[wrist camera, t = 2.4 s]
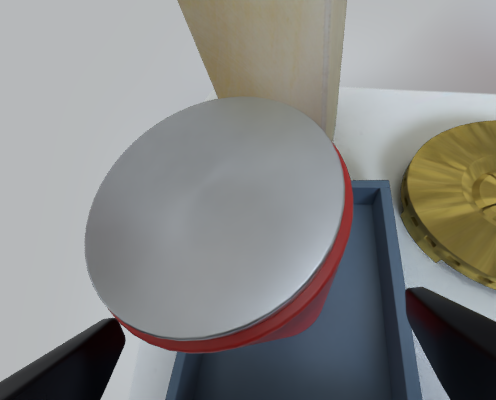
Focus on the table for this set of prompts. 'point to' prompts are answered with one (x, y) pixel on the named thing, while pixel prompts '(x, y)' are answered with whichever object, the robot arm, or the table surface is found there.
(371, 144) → the table surface
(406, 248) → the table surface
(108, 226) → the can
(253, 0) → the toy refrigerator
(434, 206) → the gold round disc
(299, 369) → the tray
